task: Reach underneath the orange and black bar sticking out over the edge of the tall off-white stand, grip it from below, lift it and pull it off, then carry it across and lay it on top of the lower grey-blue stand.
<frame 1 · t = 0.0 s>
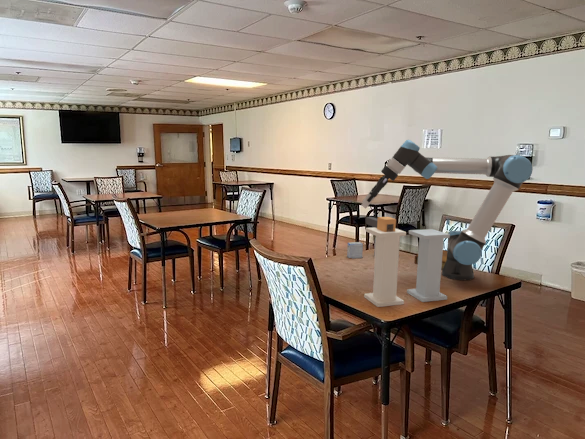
hand: (363, 205, 208), 36 cm above the table, tool tilted 35°, fingers open, 13 cm apart
radio: (386, 256, 255), on the table
stand: (381, 299, 183), on the table
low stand: (424, 294, 189), on the table
orange and black bar: (378, 227, 183), point 30 cm above the table, touching stand
diary: (440, 264, 240), on the table
medicine box: (354, 257, 250), on the table
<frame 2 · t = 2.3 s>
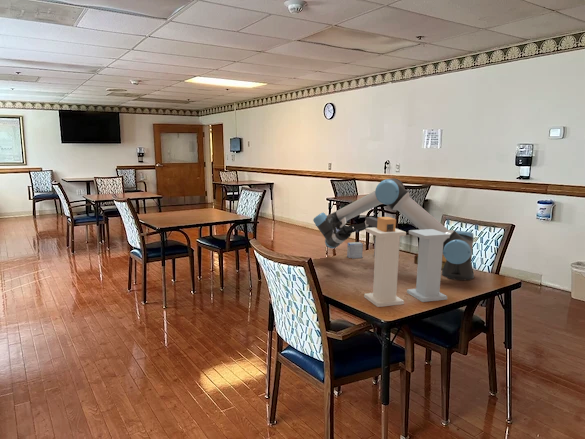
hand: (358, 219, 201), 30 cm above the table, tool pointing upward, fingers open, 13 cm apart
nothing on the table moved.
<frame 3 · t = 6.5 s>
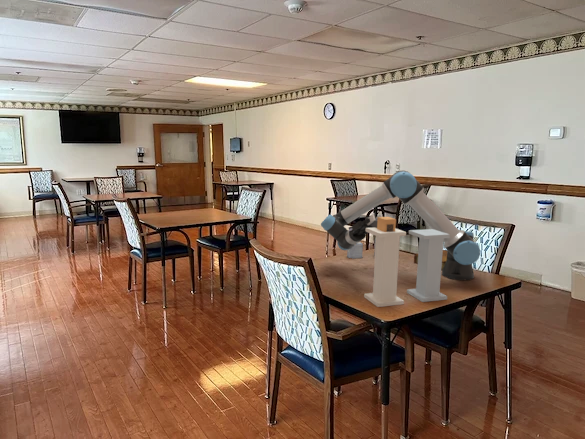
hand: (377, 217, 183), 34 cm above the table, tool pointing upward, fingers closed on orange and black bar, 3 cm apart
orange and black bar: (378, 227, 183), point 30 cm above the table, touching gripper, stand
everything else where it was.
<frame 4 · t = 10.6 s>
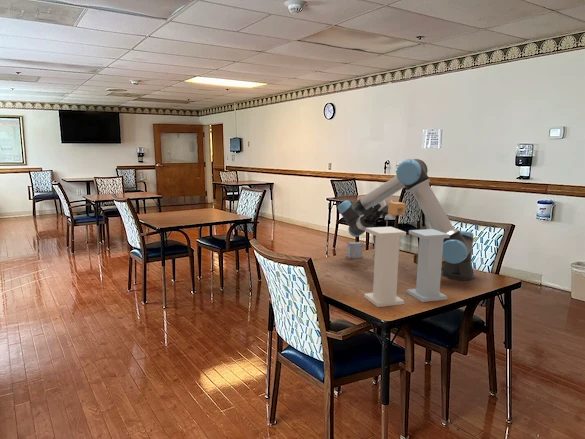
hand: (388, 202, 197), 39 cm above the table, tool pointing upward, fingers closed on orange and black bar, 3 cm apart
orange and black bar: (389, 212, 196), point 34 cm above the table, touching gripper
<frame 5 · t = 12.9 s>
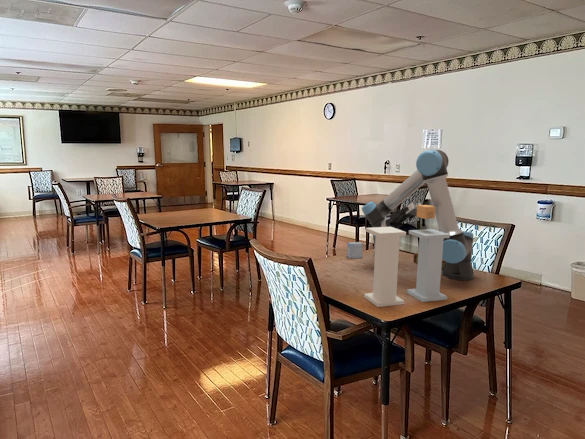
hand: (416, 205, 191), 38 cm above the table, tool pointing upward, fingers closed on orange and black bar, 3 cm apart
orange and black bar: (417, 215, 191), point 34 cm above the table, touching gripper
when the fingers open (33 cm above the table, at t = 14.9 s): orange and black bar stays where it is, resting on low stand.
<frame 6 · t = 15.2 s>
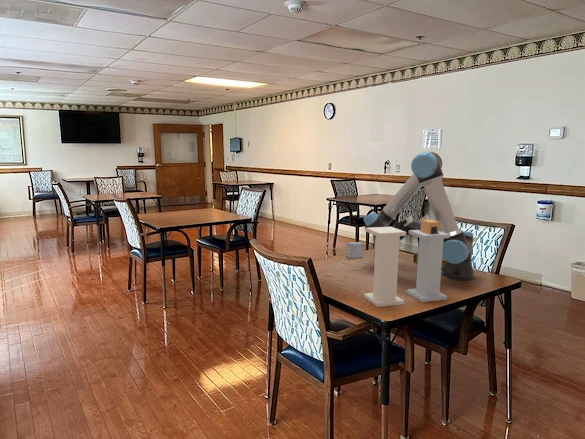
hand: (419, 218, 190), 33 cm above the table, tool pointing upward, fingers open, 8 cm apart
orange and black bar: (421, 229, 189), point 28 cm above the table, touching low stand
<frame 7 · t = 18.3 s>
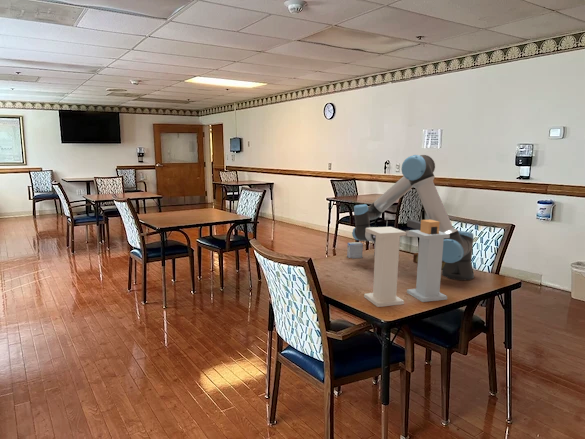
hand: (407, 235, 205), 22 cm above the table, tool horizontal, fingers open, 13 cm apart
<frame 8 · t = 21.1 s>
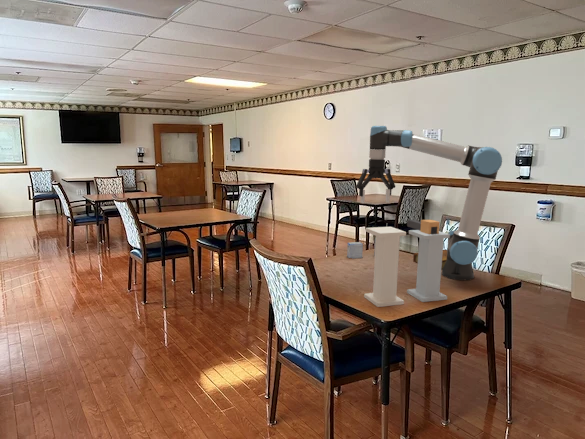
hand: (375, 202, 210), 37 cm above the table, tool pointing down, fingers open, 13 cm apart
at the end: orange and black bar inside the target area on the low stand (0.1 cm from its centre), point 28.0 cm above the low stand's base; orange and black bar touching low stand; the gripper is holding nothing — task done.
